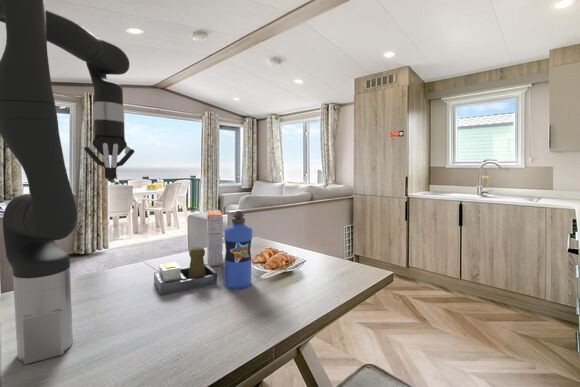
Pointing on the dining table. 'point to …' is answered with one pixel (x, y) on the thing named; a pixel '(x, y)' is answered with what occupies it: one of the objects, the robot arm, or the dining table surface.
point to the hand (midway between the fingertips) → (110, 180)
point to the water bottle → (237, 253)
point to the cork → (196, 263)
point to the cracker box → (214, 237)
